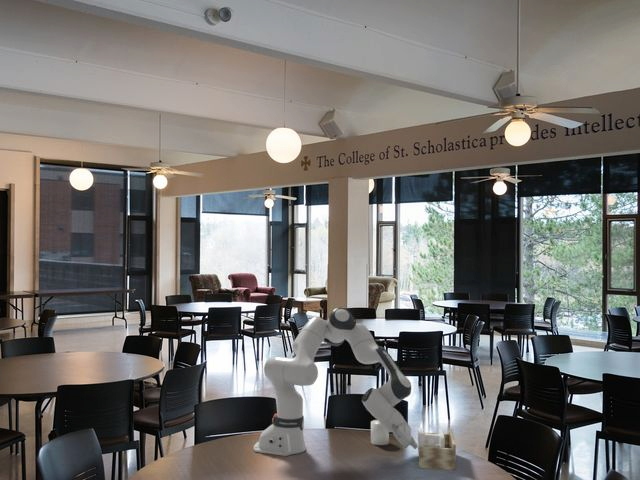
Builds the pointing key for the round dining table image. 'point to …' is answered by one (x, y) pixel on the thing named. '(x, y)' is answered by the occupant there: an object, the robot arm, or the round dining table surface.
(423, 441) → the cable organizer
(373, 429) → the mug
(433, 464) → the bracket
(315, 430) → the round dining table surface
